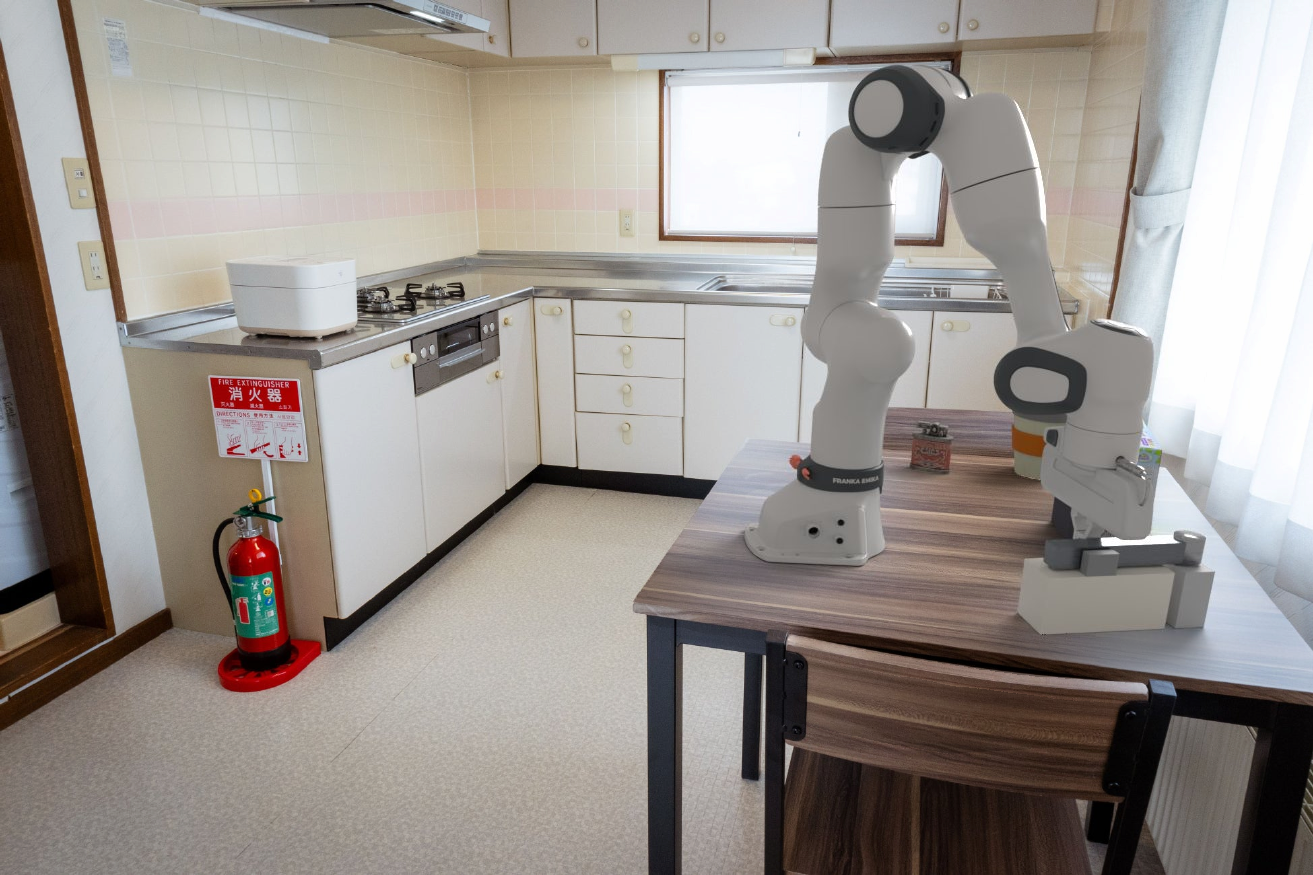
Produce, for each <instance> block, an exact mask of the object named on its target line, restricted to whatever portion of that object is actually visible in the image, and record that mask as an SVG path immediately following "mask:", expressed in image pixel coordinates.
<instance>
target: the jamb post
mask: <svg viewBox="0 0 1313 875" xmlns="http://www.w3.org/2000/svg"><path fill="white" fill-rule="evenodd" d="M1163 566H1165V567H1166V568H1168V569H1169V570H1171V571H1172V572H1174V573H1175V576H1174V581H1173V586H1172V591H1171V597H1170V602H1169V607H1168V612H1167V618H1166V623H1167V624H1168V625H1170V626H1171V627H1172V628H1174V629H1187V628H1188V629H1193V628H1204V627H1205V623H1206V622H1205V621H1206V618H1207V614H1208V612H1207V611H1208V608H1209V604H1210V597H1211V595H1212V594H1211V593H1212V588H1213V583H1214V578H1215V575H1216V571H1215V570H1213V569H1211V567H1208V566H1207V565H1205V564H1203V563H1202V562H1201V564H1199V565H1185V564H1169V565H1163Z"/></svg>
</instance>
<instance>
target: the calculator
mask: <svg viewBox="0 0 1313 875" xmlns="http://www.w3.org/2000/svg"><path fill="white" fill-rule="evenodd" d="M1071 509H1072V508H1071V507H1070V506H1068V505H1067V504H1065V503H1064V502H1062V501H1061V500H1059V499H1058V498H1056V497H1055V496H1054V497H1053V504H1052V513H1051V519H1050V520H1051V523H1052V524H1053V525H1054V527H1055V529H1056V531H1057V532H1058V534H1059V535H1060V538H1061V540H1062V539H1073V534H1074V527H1073V522H1072V517H1071Z"/></svg>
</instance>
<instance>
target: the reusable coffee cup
mask: <svg viewBox="0 0 1313 875" xmlns="http://www.w3.org/2000/svg"><path fill="white" fill-rule="evenodd" d="M1011 412H1012V414H1013V423H1012V425H1011V447H1012V449H1013V450H1014V451H1013V452H1014V453H1013V456H1014V462H1013V463H1014V470H1015V471H1014V473H1015V472H1016V473H1019V474H1020V475H1024V476H1026V477H1032V478H1035V479H1040V471H1041V462H1042V455H1043V450H1044V447H1045V445H1046V444H1047V443H1046V442H1045V441H1044V430H1045V428H1047V427H1059V426H1066V421H1067V415H1066V414H1057V415H1025V414H1020V413H1017V412H1015V411H1013V410H1011ZM1016 473H1015V474H1016ZM1020 475H1019V476H1020Z"/></svg>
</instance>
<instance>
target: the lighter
mask: <svg viewBox="0 0 1313 875" xmlns="http://www.w3.org/2000/svg"><path fill="white" fill-rule="evenodd" d="M916 429H922V431H921V430H916V431H913V432H912V435H911V436H912V444H911V445H912V446H911V456H910V457H911V458H910V462H909V469H911V470H915V471H919V472H923V473H929V474H935V475H945V476H946V475H950V473H951V468H950V466H951V457H952V448H953V443H954V438H955V437H954V436H952V435H948V432H949V426H948V425H943V424H941V423H940V422H938V421H935V422H933V423H930V422H929V421H921V420H918V421H917V422H916ZM928 430H929V431H928Z"/></svg>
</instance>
